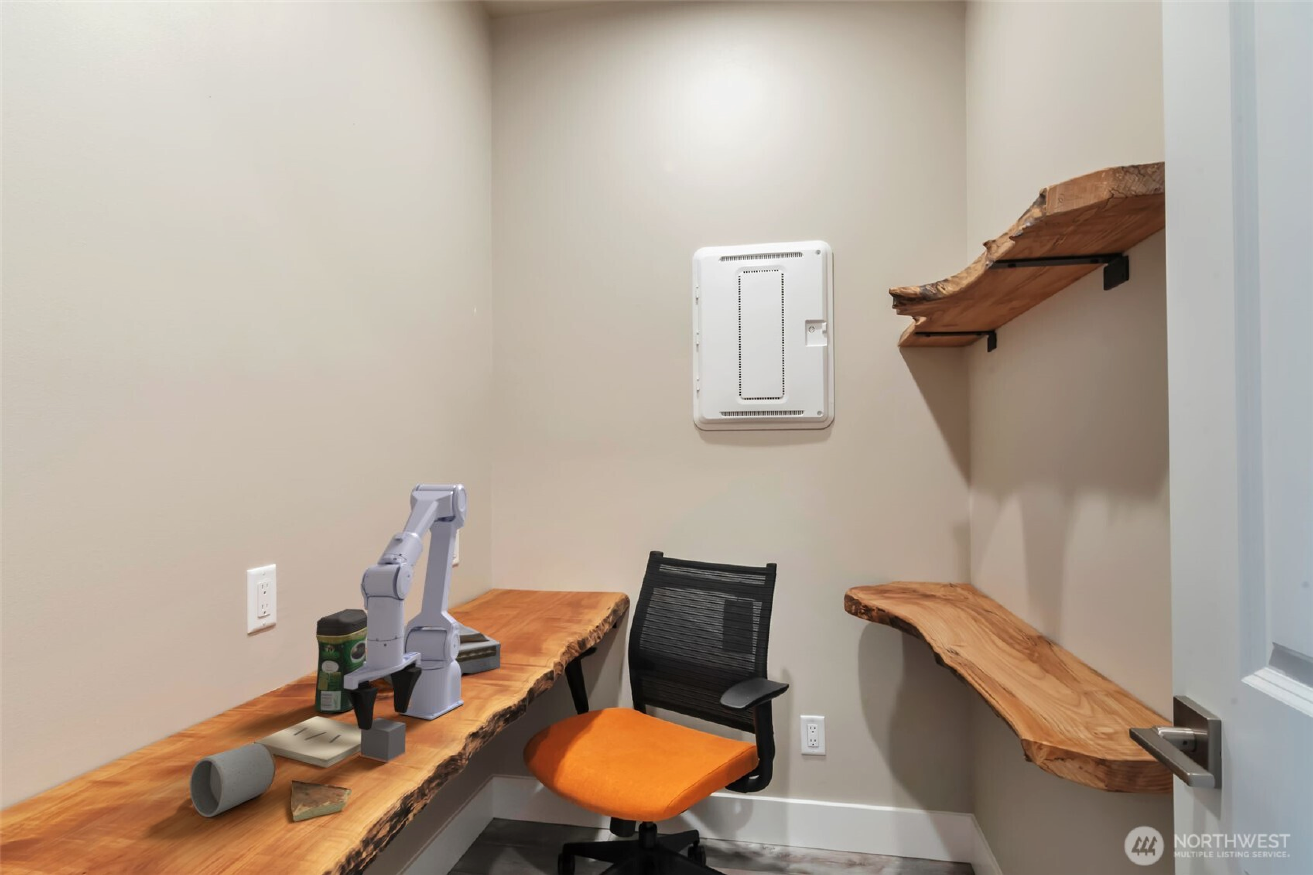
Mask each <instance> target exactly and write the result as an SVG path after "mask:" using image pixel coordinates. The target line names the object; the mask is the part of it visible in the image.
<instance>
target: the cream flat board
mask: <svg viewBox="0 0 1313 875" xmlns="http://www.w3.org/2000/svg"><path fill="white" fill-rule="evenodd" d="M255 743H260V744H263V745H265V746H267V747H268V748H269V750H270V751H271V752H272V754H273V755H275V756H280V757H284V758H287V759H291V760H296V761H298V762H299V761H300V762H303V763H307V764H311V765H314V766H318V767H322V768H329V767H331V766H333V765H334V764H337V763H339V762H341V761H342V760H346V759H347V758H349V757H351V756H353V755H355V754H357V753H359V752H361V729H359V728H358V724H355V723H349V722H345V721H342V720H341V721H340V720H336V719H332V718H327V717H322V716H317V715H316V716H314V717H313V716H312V717H311V718H309V719H306V720H304V721H301V722H299V723H297V724H294V725H292V726H288V727H287V728H283V729H282V730H279V731H276V732H274V733H271V734H270V735H266V736H265V737H264V736H263V737H262V738H260V739H256V740H255V741H254V740H253V744H255Z"/></svg>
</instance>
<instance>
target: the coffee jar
mask: <svg viewBox="0 0 1313 875" xmlns="http://www.w3.org/2000/svg"><path fill="white" fill-rule="evenodd" d="M315 631H316V633H315V638H316V640H317V644H318V645H317V646H318V654H317V655H318V658H317V674H316V683H315V684H316V685H315V693H314V694H315V696H314V708H315V711H319V712H320V713H323V714H333V713H341V712H342V713H344V712H348V711H349V710H352V709H353V706H352V704H351V702H350V700H349V698H348V697H347V695H346V694H345V692H344V676H345V675H347V674H350V673H352V672H354V671H355V670H357V669H359V668H360V667H362V666H363V662H365V661H366V645H367V613H366V611H365V609H364V610H363V609H361V608H360V609H359V608H358V609H357V608H345V609H343V610H340V611H338V612H334V613H332V614H329V615H326V616H325V615H324V616H323V617H321V618H320V619H318V620H317V621H316V630H315Z"/></svg>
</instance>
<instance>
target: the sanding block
mask: <svg viewBox="0 0 1313 875" xmlns="http://www.w3.org/2000/svg"><path fill="white" fill-rule="evenodd" d="M405 754H406V723H405V722H401V721H396V720H393V719H392V720H391V719H386V718H382V717H377V718H375V719H373V722H372V727H371V729H369V730H363V729H361V751H360V757H361V758H362V757H363V758H367V759H371V760H374V761H378V762H384V763H388V764H389V763H390V762H392V761H394V760H396V759H398V758H399V757H401V756H404V755H405Z"/></svg>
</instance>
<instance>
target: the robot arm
mask: <svg viewBox="0 0 1313 875" xmlns="http://www.w3.org/2000/svg"><path fill="white" fill-rule="evenodd" d="M409 497H410V500H409V502H410V503H409V504H410V511H411V512H410V514H409V516H408V518H407V521H406V524H405V525H404V528H403V530H402V531H401V532H400V531H399V532H397V533H395V534H394V535H393V536H392V537H391V540H390V541H389V543H388V544H387V546H386V547H385V550H384V551H383V552H382V555H381V556H380V558H379V559H378V561H377V563H374V564H372V565H370V566H368V567H367V568H366V569H365V571H364V572H363V575H362V578H361V583H360V593H361V596H362V598H363V607H364V611H367V613H366V614H367V636H366V661H365V662H363V666H362V667H360V668H359V669H357V670H355V671H354V672H352V673H350V674H347V675H345V676H344V692H345V694H346V695H347V697H348V698H349V700H350V702H351V704H352V706H353V708H352V709H353V711H354V715H355V719H356V723H357V725H358V728H359V729H363V730H369V729H371V727H372V722H373V720H374V710H375V708H374V707H375V704H376V703H375V702H376V699H377V695H378V692H379V690H380V687H377V686H372V683H370V682H372V681H375V680H378V679H380V678H382V677H383V676H386V675H388V674H390V675H391V679H392V684H393V686H392V690H393V709H394V712H395V713H399V714H400V715H406V716H408V717H415V718H420V719H425V720H429V721H431V720H434V719H436V718H438V717H439V716H440V717H441V716H442V715H444V714H446V713H449V711H451V710H453V709H456V708H457V707H460V706H462V705H464V704H465V701H464V700H462V699H461V697H462V696H461V695H462V694H461V693H462V692H461V690H462V675H461V669H460V666H459V664H458V662H457V661H456V660H455V659H456V657H457V655H458V652H459V647H460V637H459V623H458V620H456V619H455V618H454V617H453V616H452V615H450V614H449V612H448V607H449V596H450V588H451V583H452V582H451V580H452V570H453V566H454V565H453V563H454V557H455V556H454V555H455V548H456V547H455V546H456V540H457V539H456V538H457V535H458V534H457V533H458V530H459V529H462V528H463V527H464V526H465V521H466V519H467V511H468V503H469V500H468V498H469V497H468V494H467V489H466V488H465V487H464V485H463V483H462V484H461V483H457V484H423V483H417V484H416V485H415V486H414V487H413V488H412V491H411V492H410V496H409ZM428 531H429V532H430V543H429V549H428V557H427V563H426V572H425V577H424V578H425V580H424V587H423V594H422V595H423V596H422V602H421V609H420V612H419V613H418V614H417V615H415V616H414V617H413V618H411V619H410V620H408V621H407V624H406V626H407V627H406V631H405V635H404V626H405V606H406V605H405V602H406V601H405V598H407V596H408V595H409V593H410V592H411V589H412V583H413V582H412V581H413V577H414V573H415V572H414V568H415V566H416V563H417V562H418V560H419V558H420V557H421V554H422V552H423V551H424V543H423V542H422V539H423V538H424V537H425V535H426V533H427V532H428ZM424 627H428V628H430V627H444V628H445V629H446V630H424V629H422V628H424Z"/></svg>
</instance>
